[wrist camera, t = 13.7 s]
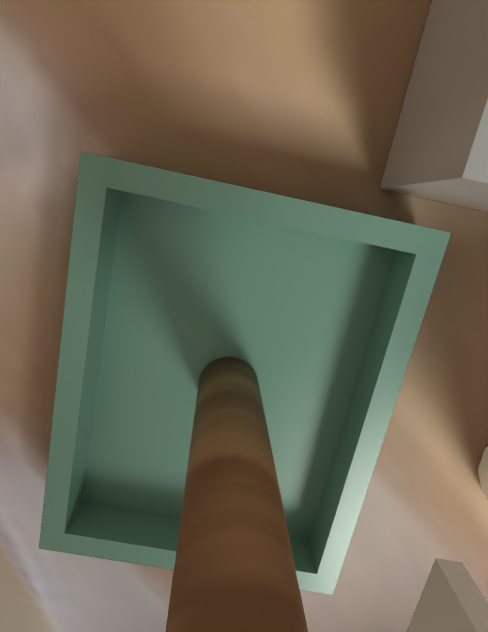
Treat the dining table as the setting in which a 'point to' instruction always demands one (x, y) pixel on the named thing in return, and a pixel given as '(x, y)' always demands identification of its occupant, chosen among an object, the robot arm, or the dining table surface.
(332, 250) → the tray
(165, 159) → the dining table surface
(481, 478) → the foam cup
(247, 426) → the dowel
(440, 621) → the robot arm
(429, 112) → the grey hollow square block
